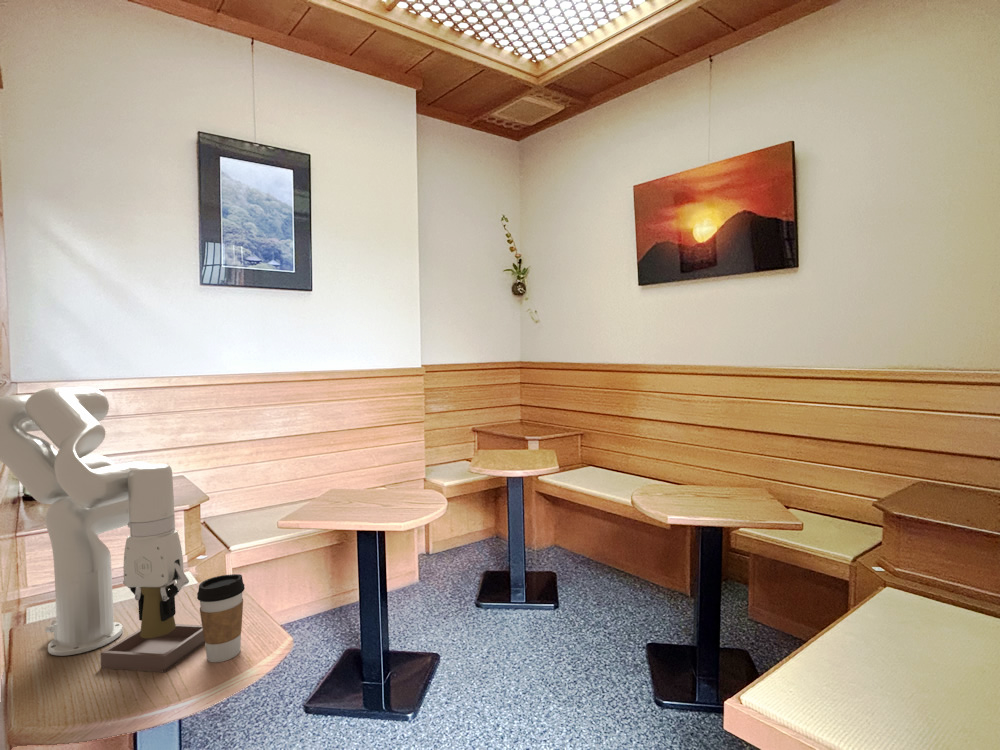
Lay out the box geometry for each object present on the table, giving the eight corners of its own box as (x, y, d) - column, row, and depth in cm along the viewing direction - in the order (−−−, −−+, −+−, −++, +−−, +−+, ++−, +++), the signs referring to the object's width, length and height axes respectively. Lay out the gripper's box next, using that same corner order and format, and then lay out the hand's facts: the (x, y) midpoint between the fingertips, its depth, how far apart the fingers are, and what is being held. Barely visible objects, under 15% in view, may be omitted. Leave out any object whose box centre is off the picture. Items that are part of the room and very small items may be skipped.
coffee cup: (227, 667, 100) (224, 589, 100) (189, 664, 102) (186, 587, 102) (256, 644, 108) (253, 572, 108) (220, 642, 110) (217, 570, 110)
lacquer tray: (101, 668, 102) (100, 652, 102) (151, 636, 113) (151, 622, 113) (165, 672, 99) (164, 656, 99) (210, 639, 111) (209, 625, 111)
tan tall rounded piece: (171, 620, 110) (168, 568, 110) (179, 629, 106) (177, 575, 106) (136, 632, 106) (134, 577, 106) (144, 641, 101) (141, 584, 101)
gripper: (99, 532, 103) (104, 625, 103) (175, 532, 101) (180, 628, 101) (132, 521, 111) (136, 608, 111) (203, 521, 108) (208, 610, 108)
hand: (157, 616), depth 106 cm, fingers closed on tan tall rounded piece, 4 cm apart
